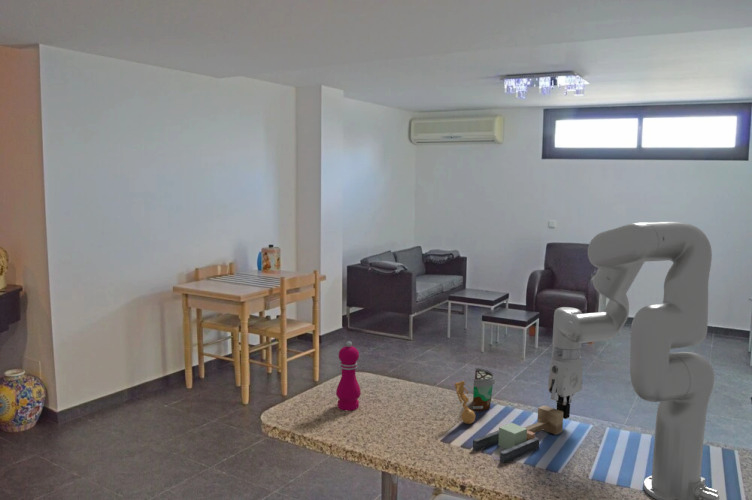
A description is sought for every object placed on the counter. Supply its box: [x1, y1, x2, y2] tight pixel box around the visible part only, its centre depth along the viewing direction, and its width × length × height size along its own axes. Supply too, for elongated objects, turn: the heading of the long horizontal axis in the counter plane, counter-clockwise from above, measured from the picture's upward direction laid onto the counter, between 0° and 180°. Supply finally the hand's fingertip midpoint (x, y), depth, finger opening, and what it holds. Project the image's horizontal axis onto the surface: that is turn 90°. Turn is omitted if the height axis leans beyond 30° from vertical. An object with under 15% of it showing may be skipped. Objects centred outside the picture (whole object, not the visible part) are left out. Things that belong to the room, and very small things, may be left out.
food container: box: [472, 367, 496, 412], centre depth 185 cm, size 12×6×10 cm, turn 168°
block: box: [497, 422, 527, 450], centre depth 158 cm, size 5×5×5 cm
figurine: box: [454, 380, 476, 425], centre depth 172 cm, size 8×6×12 cm
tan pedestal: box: [524, 405, 564, 441], centre depth 164 cm, size 6×14×6 cm, turn 129°
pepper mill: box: [335, 340, 362, 412], centre depth 182 cm, size 7×7×20 cm
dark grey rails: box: [472, 429, 540, 464], centre depth 156 cm, size 10×14×2 cm
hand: (562, 416), depth 171 cm, fingers closed
